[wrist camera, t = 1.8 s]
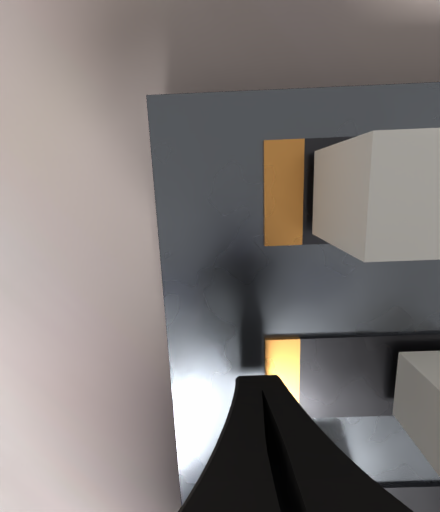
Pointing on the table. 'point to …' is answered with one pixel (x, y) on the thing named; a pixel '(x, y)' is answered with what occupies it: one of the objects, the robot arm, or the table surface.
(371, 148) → the block
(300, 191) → the panel
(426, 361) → the block
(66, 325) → the table surface
